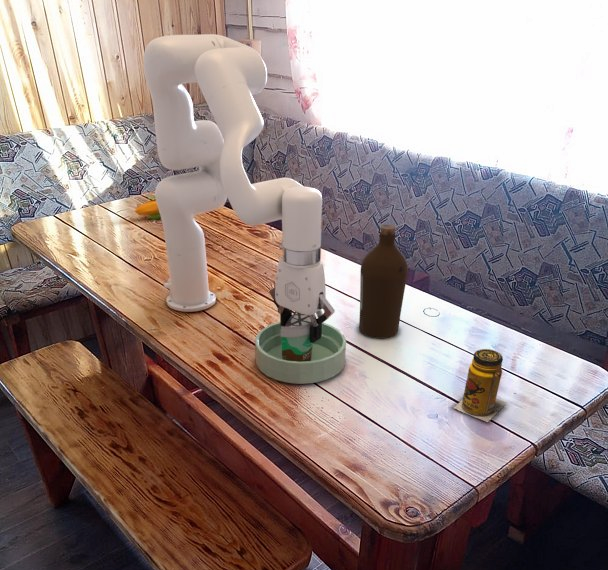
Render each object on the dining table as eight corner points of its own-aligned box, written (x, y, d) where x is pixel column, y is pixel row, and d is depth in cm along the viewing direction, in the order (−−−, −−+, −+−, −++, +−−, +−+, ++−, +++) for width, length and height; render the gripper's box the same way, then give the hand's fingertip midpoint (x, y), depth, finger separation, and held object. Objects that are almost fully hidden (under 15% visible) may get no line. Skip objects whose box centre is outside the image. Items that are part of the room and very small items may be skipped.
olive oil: (405, 324, 145) (417, 222, 131) (394, 343, 137) (406, 237, 123) (363, 316, 148) (371, 216, 134) (350, 335, 140) (357, 230, 126)
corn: (189, 192, 211) (138, 201, 201) (192, 213, 215) (142, 224, 205) (179, 189, 216) (128, 198, 206) (182, 210, 220) (132, 220, 210)
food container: (308, 374, 123) (309, 331, 118) (280, 370, 125) (280, 327, 119) (322, 348, 133) (324, 307, 128) (296, 344, 135) (296, 304, 129)
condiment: (452, 408, 116) (463, 355, 109) (472, 390, 121) (483, 339, 114) (487, 423, 112) (500, 369, 105) (506, 404, 117) (520, 351, 110)
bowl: (237, 365, 128) (236, 342, 125) (293, 332, 141) (293, 311, 138) (308, 396, 118) (308, 373, 115) (361, 359, 131) (363, 337, 128)
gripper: (255, 249, 118) (258, 329, 128) (325, 270, 109) (322, 354, 119) (279, 239, 122) (280, 317, 133) (348, 259, 114) (344, 340, 124)
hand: (300, 334), depth 126 cm, fingers closed on food container, 7 cm apart
